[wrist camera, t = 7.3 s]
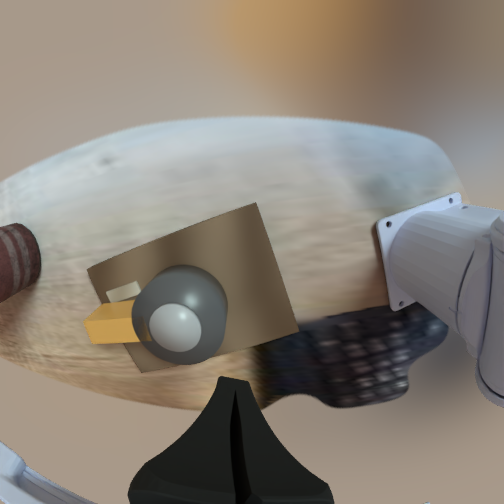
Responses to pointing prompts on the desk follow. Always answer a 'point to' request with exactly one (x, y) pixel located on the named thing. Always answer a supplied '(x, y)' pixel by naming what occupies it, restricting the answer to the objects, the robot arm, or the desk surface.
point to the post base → (217, 264)
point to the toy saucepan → (168, 316)
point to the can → (17, 259)
